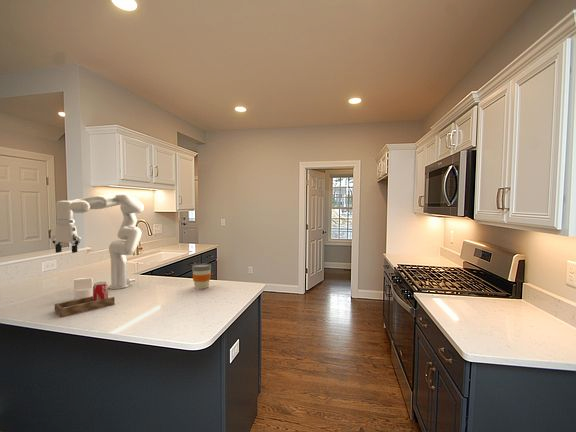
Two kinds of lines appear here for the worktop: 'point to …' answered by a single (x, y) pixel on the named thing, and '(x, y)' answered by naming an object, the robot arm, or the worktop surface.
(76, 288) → the cylinder with rectangular tab
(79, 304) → the u rest
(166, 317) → the worktop surface
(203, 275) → the reusable coffee cup
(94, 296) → the soda can
